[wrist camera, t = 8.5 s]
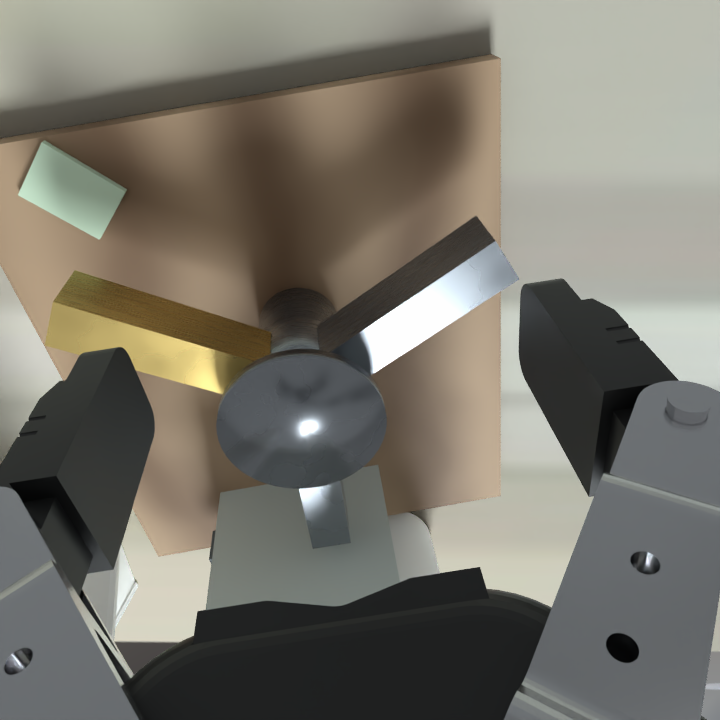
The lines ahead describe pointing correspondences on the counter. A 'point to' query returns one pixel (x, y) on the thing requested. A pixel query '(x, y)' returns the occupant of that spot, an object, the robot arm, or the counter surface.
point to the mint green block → (71, 190)
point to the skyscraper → (111, 591)
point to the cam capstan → (292, 361)
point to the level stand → (299, 548)
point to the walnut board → (288, 259)
